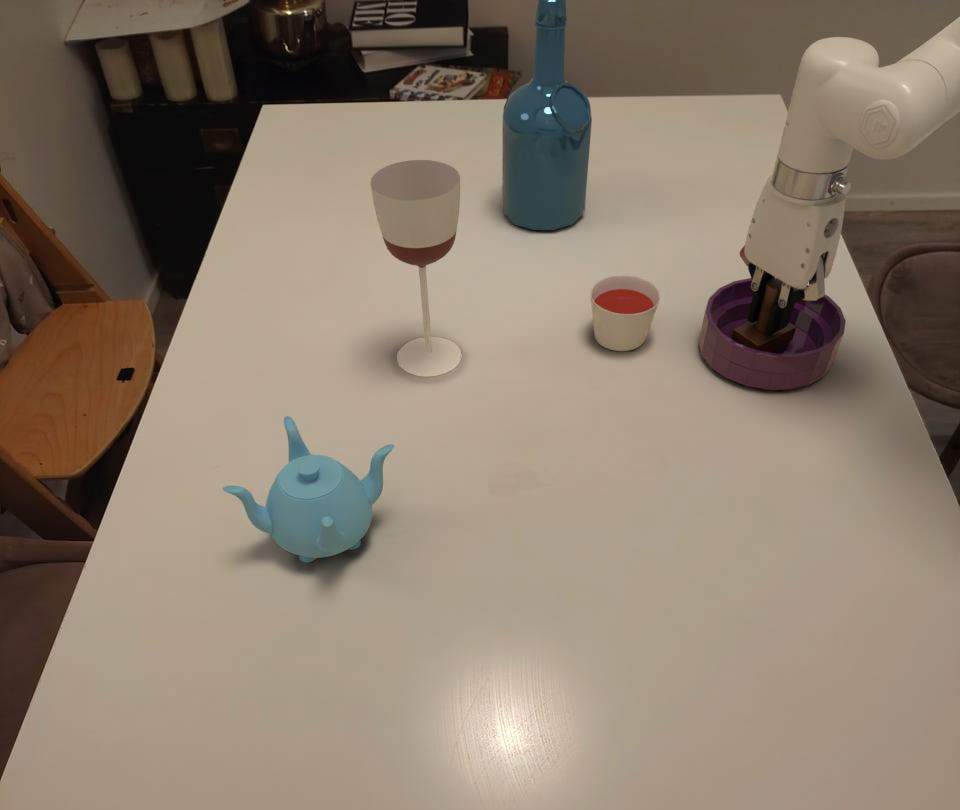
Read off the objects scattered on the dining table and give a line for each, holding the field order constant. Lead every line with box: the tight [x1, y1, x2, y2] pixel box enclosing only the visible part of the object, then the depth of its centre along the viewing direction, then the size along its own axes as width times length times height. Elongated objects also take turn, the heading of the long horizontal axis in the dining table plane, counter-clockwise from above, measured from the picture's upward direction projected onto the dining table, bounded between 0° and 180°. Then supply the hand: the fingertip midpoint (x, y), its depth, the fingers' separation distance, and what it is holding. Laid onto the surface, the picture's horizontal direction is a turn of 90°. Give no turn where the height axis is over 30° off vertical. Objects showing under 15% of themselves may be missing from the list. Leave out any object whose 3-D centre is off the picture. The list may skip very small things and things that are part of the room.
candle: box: [589, 274, 661, 352], centre depth 113 cm, size 9×9×6 cm
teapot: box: [222, 415, 395, 563], centre depth 91 cm, size 13×13×10 cm
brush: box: [731, 279, 796, 354], centre depth 108 cm, size 7×4×10 cm, turn 125°
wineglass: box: [370, 159, 462, 378], centre depth 104 cm, size 9×10×23 cm
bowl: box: [698, 277, 847, 391], centre depth 111 cm, size 17×17×6 cm
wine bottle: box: [501, 0, 593, 231], centre depth 123 cm, size 14×13×30 cm
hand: (767, 323), depth 108 cm, fingers closed on brush, 2 cm apart
